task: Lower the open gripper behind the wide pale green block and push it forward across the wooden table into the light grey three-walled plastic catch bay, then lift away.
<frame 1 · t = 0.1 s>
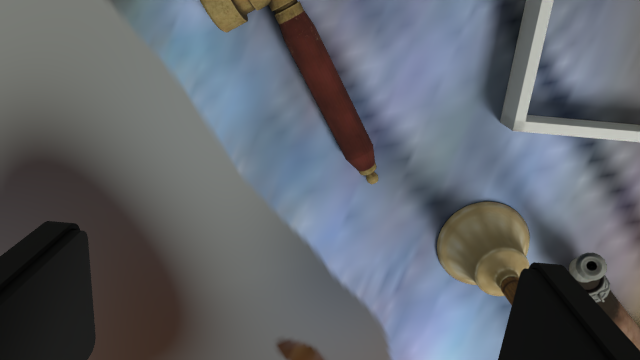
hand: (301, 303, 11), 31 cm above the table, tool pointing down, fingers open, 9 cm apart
antique flintlock pistol: (607, 320, 47), on the table
hand bell: (481, 242, 45), on the table
gavel: (319, 70, 40), on the table
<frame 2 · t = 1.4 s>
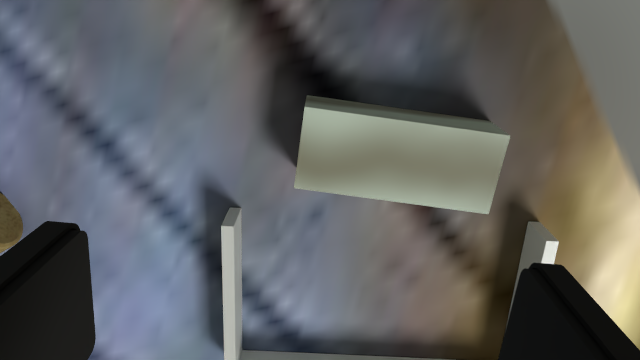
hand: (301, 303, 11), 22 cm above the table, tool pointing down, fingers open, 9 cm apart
catch bay: (377, 289, 36), on the table
pale green block: (391, 144, 33), on the table
gavel: (37, 315, 38), on the table
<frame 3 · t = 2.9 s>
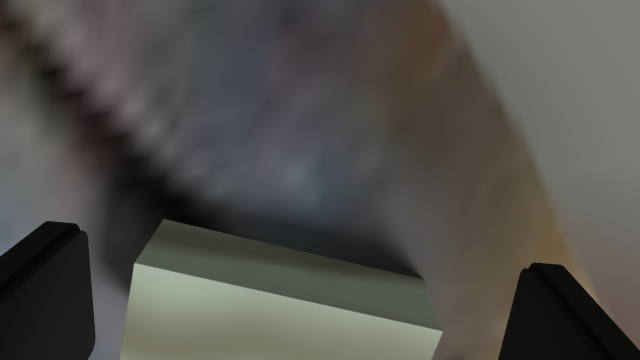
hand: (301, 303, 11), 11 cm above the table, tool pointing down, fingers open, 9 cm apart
pale green block: (284, 292, 23), on the table
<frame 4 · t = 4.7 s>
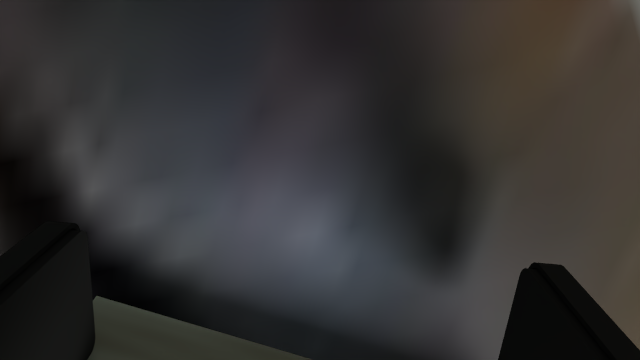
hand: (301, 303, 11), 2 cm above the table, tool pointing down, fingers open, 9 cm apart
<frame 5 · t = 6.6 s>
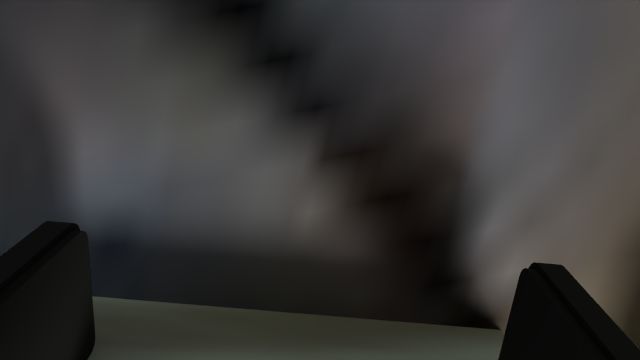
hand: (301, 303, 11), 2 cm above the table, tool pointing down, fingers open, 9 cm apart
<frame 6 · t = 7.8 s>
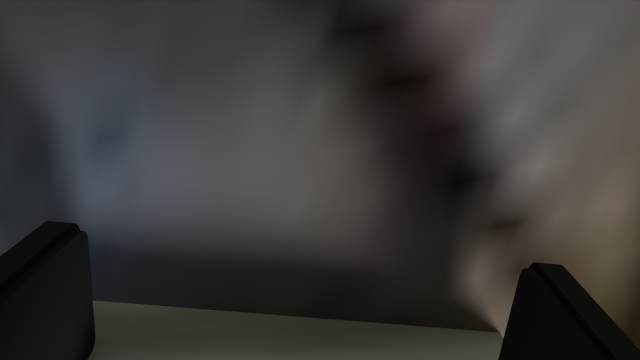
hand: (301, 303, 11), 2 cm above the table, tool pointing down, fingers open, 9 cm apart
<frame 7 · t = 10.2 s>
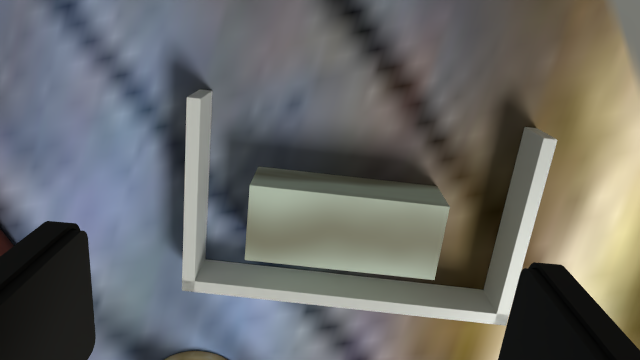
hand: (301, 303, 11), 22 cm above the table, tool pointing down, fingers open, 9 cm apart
catch bay: (356, 196, 33), on the table
pale green block: (343, 209, 34), on the table
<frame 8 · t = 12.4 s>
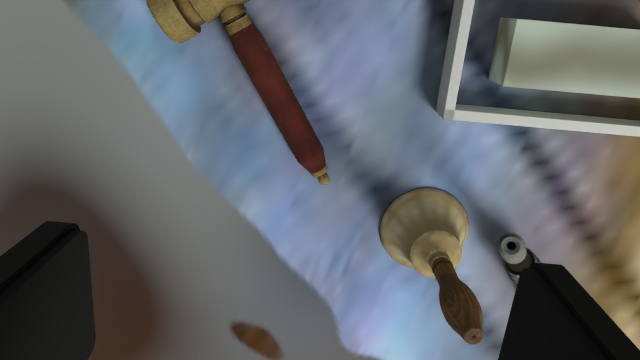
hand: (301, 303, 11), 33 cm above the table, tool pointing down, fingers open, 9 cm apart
antique flintlock pistol: (547, 303, 49), on the table
catch bay: (579, 41, 41), on the table
hand bell: (423, 227, 47), on the table
pale green block: (564, 54, 41), on the table
gavel: (272, 77, 43), on the table
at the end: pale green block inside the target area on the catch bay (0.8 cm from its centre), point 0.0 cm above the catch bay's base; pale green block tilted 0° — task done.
